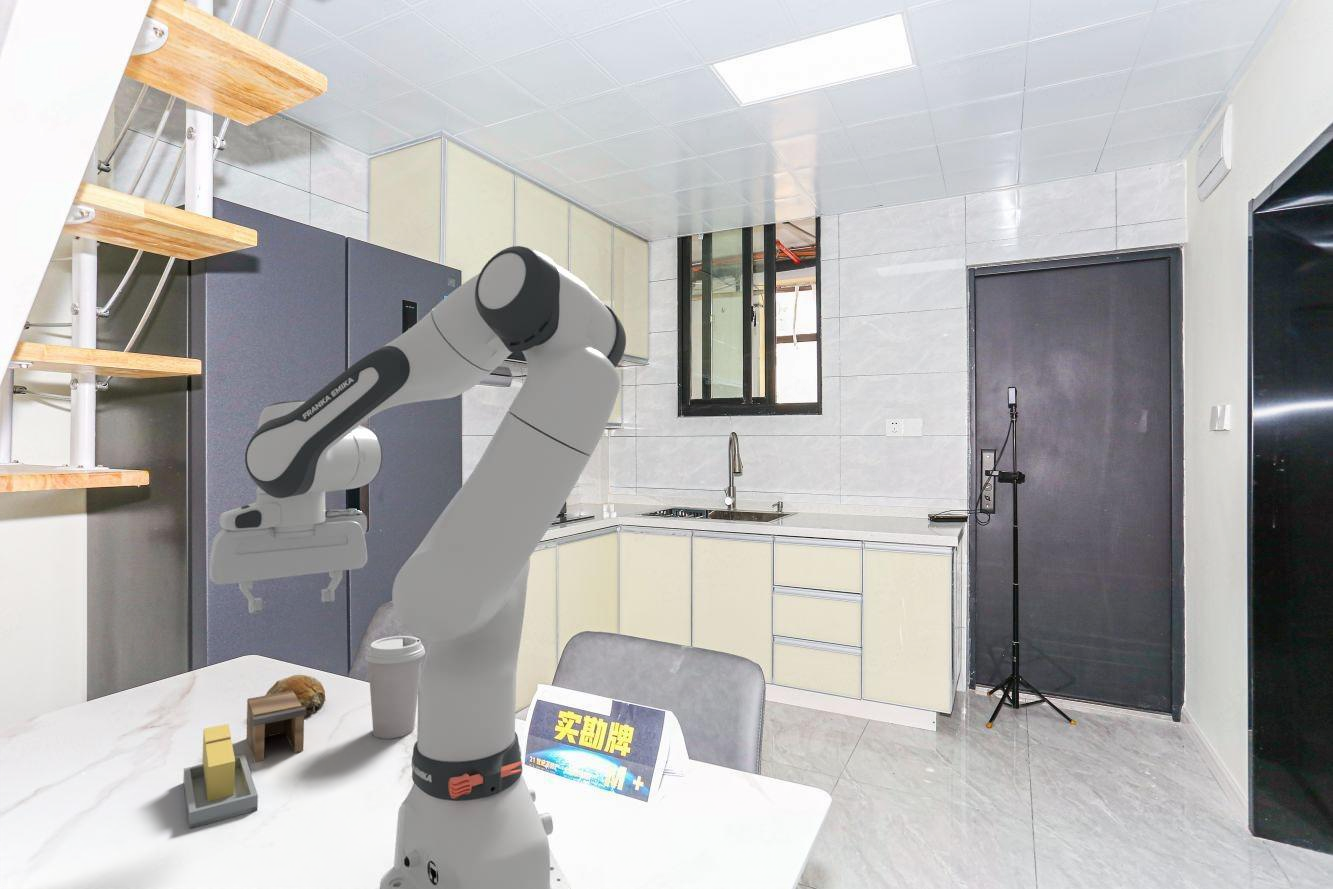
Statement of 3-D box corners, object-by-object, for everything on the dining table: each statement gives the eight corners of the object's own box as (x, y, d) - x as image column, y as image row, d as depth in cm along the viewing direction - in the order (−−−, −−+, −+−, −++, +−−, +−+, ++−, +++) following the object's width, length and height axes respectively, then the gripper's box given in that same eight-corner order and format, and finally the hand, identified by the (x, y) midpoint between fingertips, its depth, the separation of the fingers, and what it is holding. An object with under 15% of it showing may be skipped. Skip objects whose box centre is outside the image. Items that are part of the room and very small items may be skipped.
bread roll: (319, 717, 128) (314, 675, 131) (334, 709, 121) (329, 664, 124) (259, 732, 122) (256, 686, 124) (272, 723, 115) (268, 676, 117)
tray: (257, 810, 89) (257, 795, 89) (189, 828, 85) (189, 812, 85) (244, 768, 100) (244, 754, 101) (183, 782, 96) (183, 768, 96)
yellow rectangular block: (233, 794, 92) (235, 760, 91) (207, 801, 90) (208, 766, 89) (227, 755, 100) (228, 722, 99) (202, 760, 98) (203, 727, 97)
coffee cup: (410, 743, 110) (412, 651, 110) (352, 742, 110) (354, 650, 110) (432, 719, 119) (433, 635, 119) (378, 718, 119) (380, 633, 120)
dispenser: (305, 750, 107) (306, 709, 107) (252, 762, 102) (253, 719, 102) (294, 728, 115) (294, 690, 115) (244, 738, 110) (245, 699, 110)
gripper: (360, 506, 108) (361, 592, 108) (206, 515, 95) (207, 614, 95) (372, 508, 103) (373, 599, 103) (211, 519, 90) (212, 622, 90)
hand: (292, 606), depth 99 cm, fingers open, 8 cm apart
